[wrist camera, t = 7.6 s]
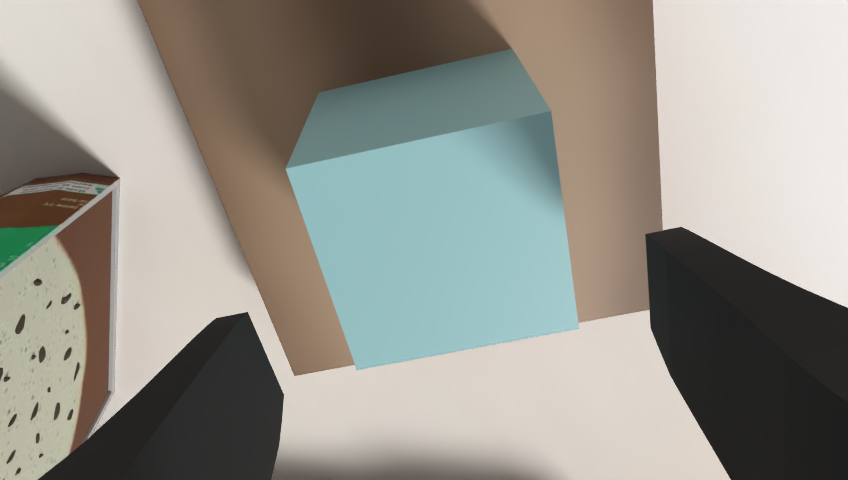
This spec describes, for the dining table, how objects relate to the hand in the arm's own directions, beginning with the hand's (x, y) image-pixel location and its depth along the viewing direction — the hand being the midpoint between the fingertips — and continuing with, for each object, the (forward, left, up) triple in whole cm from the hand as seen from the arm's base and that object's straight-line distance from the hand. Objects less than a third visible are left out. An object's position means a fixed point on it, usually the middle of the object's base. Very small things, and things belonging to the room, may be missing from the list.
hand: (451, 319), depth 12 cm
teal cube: (0, 0, -7) cm, 7 cm away
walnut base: (0, 0, -10) cm, 10 cm away
